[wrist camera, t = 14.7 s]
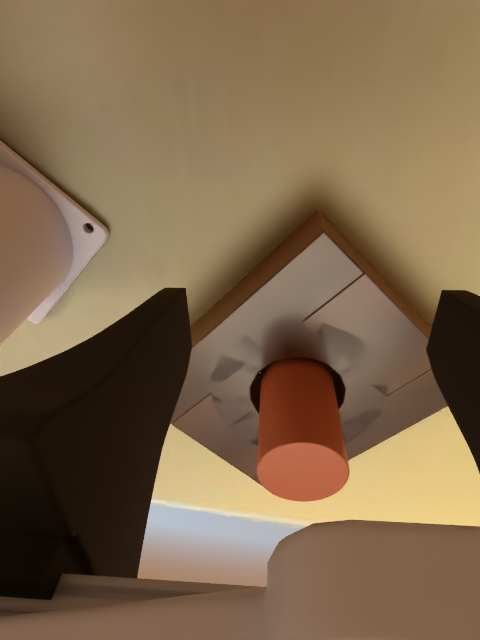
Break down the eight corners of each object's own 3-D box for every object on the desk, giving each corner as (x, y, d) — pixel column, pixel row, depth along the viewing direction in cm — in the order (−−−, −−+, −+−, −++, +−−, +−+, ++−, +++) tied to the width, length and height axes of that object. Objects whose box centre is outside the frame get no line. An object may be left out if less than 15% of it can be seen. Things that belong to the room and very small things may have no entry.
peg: (248, 359, 24) (237, 471, 18) (297, 320, 23) (306, 428, 16) (293, 395, 26) (299, 512, 19) (342, 361, 24) (368, 477, 17)
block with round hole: (147, 366, 25) (133, 399, 23) (317, 209, 19) (324, 230, 17) (279, 460, 29) (279, 498, 27) (456, 354, 23) (478, 389, 21)
